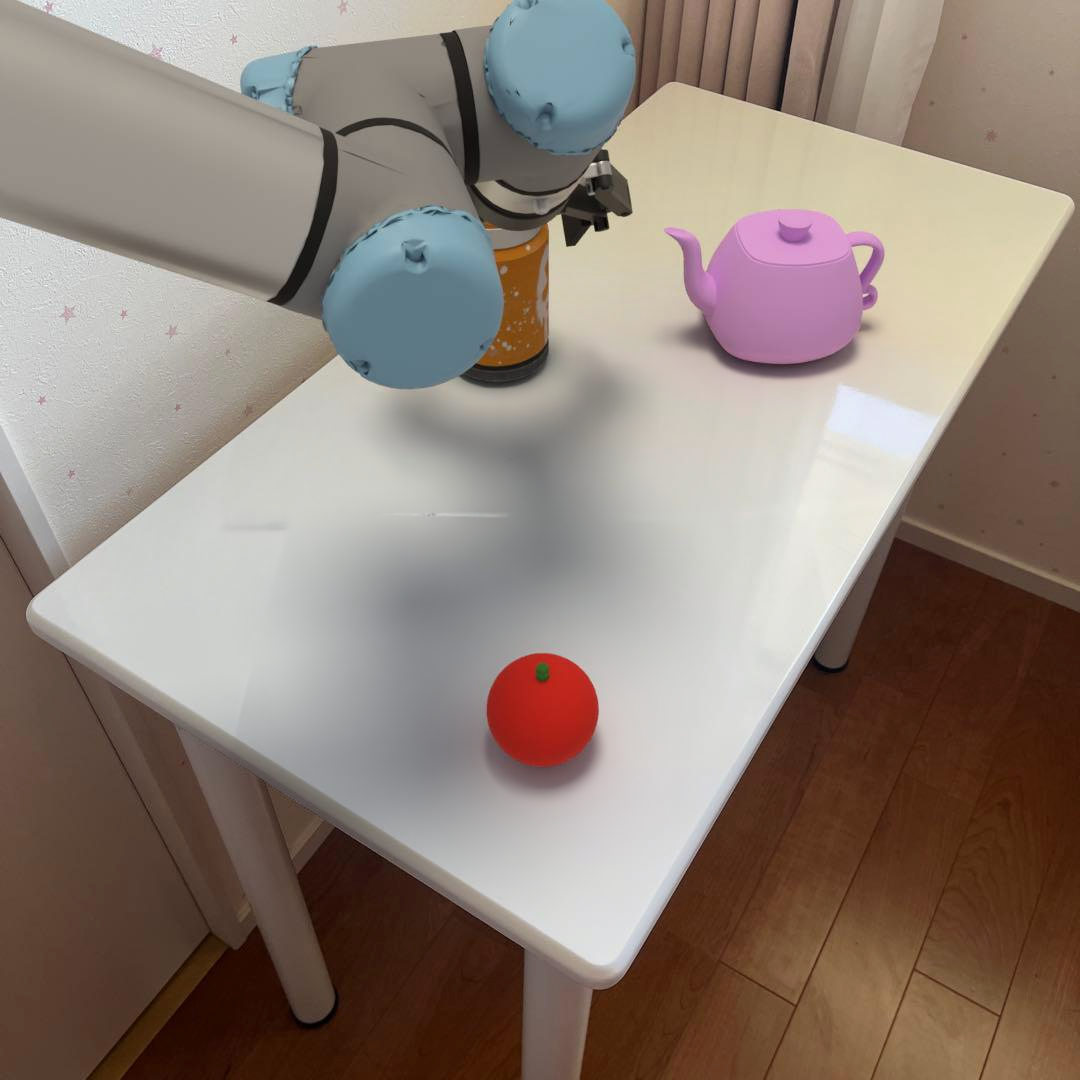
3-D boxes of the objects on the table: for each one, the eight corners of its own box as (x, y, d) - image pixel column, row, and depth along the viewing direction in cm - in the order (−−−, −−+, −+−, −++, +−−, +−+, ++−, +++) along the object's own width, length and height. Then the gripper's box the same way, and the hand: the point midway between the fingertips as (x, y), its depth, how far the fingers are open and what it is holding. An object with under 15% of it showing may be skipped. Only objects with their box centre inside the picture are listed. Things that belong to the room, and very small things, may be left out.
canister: (549, 387, 96) (549, 174, 81) (421, 388, 96) (399, 175, 81) (548, 325, 102) (548, 117, 87) (428, 326, 102) (408, 117, 87)
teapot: (847, 284, 106) (873, 170, 97) (892, 370, 97) (926, 253, 88) (642, 298, 105) (650, 184, 96) (668, 387, 96) (680, 270, 87)
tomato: (485, 786, 69) (479, 713, 63) (491, 694, 74) (487, 618, 68) (597, 789, 69) (602, 716, 63) (596, 696, 74) (600, 620, 68)
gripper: (331, 243, 66) (339, 308, 87) (725, 191, 70) (642, 266, 91) (309, 117, 66) (322, 213, 87) (706, 72, 70) (627, 175, 91)
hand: (486, 240), depth 89 cm, fingers open, 13 cm apart
